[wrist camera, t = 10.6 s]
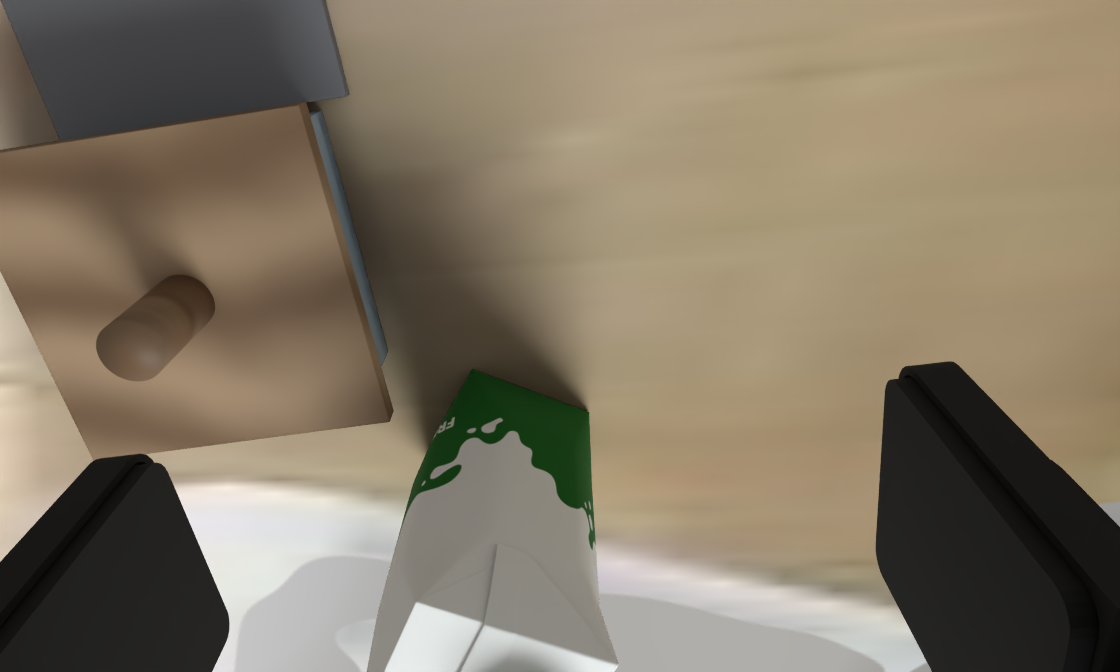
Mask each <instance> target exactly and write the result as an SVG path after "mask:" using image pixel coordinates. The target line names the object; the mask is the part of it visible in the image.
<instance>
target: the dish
mask: <svg viewBox="0 0 1120 672" xmlns="http://www.w3.org/2000/svg"><path fill="white" fill-rule="evenodd" d="M309 114H310V117H311V121H312V124H313V128H314V131H315V135H316V138H317V142H318V146H319V149H320V153H321V156H322V160H323V163H324V167H325V170H326V174H327V177H328V181H329V184H330V188H331V192H332V195H333V199H334V202H335V206H336V209H337V213H338V216H339V220H340V223H341V227H342V230H343V234H344V238H345V241H346V245H347V248H348V252H349V255H350V259H351V262H352V266H353V269H354V273H355V276H356V280H357V283H358V287H359V291H360V294H361V298H362V301H363V305H364V308H365V312H366V315H367V319H368V322H369V326H370V329H371V333H372V337H373V340H374V344H375V347H376V351H377V354H378V358H379V361H380V365H381V366H382V364H383V362H384V359H385V357H386V355H387V352H388V349H387V346H386V342H385V339H384V335H383V331H382V328H381V324H380V320H379V317H378V313H377V309H376V306H375V302H374V299H373V295H372V291H371V288H370V284H369V280H368V277H367V273H366V269H365V266H364V262H363V259H362V255H361V251H360V248H359V244H358V240H357V237H356V233H355V229H354V226H353V222H352V219H351V215H350V211H349V208H348V204H347V200H346V197H345V193H344V189H343V186H342V182H341V179H340V175H339V171H338V168H337V164H336V160H335V157H334V153H333V149H332V146H331V142H330V139H329V135H328V131H327V128H326V124H325V120H324V117H323V113H322V110H318V111H312V112H309Z"/></svg>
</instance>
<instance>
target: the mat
mask: <svg viewBox="0 0 1120 672" xmlns="http://www.w3.org/2000/svg"><path fill="white" fill-rule="evenodd" d="M1 2H2V4H3V7H4V9H5V11H6V14H7V16H8V18H9V21H10V23H11V25H12V28H13V30H14V33H15V35H16V37H17V40H18V42H19V44H20V47H21V49H22V51H23V54H24V56H25V59H26V61H27V63H28V66H29V68H30V70H31V73H32V75H33V77H34V80H35V82H36V85H37V87H38V89H39V92H40V94H41V96H42V99H43V101H44V103H45V106H46V108H47V111H48V113H49V115H50V118H51V120H52V122H53V125H54V127H55V129H56V132H57V134H58V137H59V139H60V140H66V139H72V138H79V137H85V136H91V135H98V134H104V133H110V132H116V131H123V130H129V129H135V128H142V127H148V126H154V125H160V124H167V123H173V122H179V121H186V120H192V119H198V118H204V117H211V116H217V115H223V114H230V113H236V112H242V111H248V110H255V109H261V108H267V107H273V106H280V105H286V104H292V103H299V102H305V101H306V103H308V102H314V101H320V100H327V99H333V98H339V97H346V96H348V95H349V90H348V86H347V83H346V79H345V75H344V71H343V67H342V63H341V59H340V55H339V52H338V48H337V44H336V40H335V36H334V32H333V28H332V24H331V21H330V17H329V13H328V9H327V5H326V1H325V0H1Z"/></svg>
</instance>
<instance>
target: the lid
mask: <svg viewBox="0 0 1120 672" xmlns="http://www.w3.org/2000/svg"><path fill="white" fill-rule="evenodd" d="M0 271H1V273H2V275H3V277H4V279H5V281H6V283H7V285H8V287H9V290H10V292H11V294H12V296H13V298H14V300H15V302H16V304H17V306H18V308H19V310H20V312H21V314H22V316H23V318H24V320H25V322H26V324H27V326H28V328H29V330H30V332H31V334H32V336H33V338H34V340H35V342H36V344H37V346H38V349H39V351H40V353H41V355H42V357H43V359H44V361H45V363H46V365H47V367H48V369H49V371H50V373H51V375H52V377H53V379H54V381H55V383H56V385H57V387H58V389H59V391H60V393H61V395H62V397H63V399H64V401H65V403H66V405H67V407H68V410H69V412H70V414H71V416H72V418H73V420H74V422H75V424H76V426H77V428H78V430H79V432H80V434H81V436H82V438H83V440H84V442H85V444H86V446H87V448H88V450H89V452H90V454H91V456H92V458H93V460H96V459H100V458H106V457H115V456H124V455H133V454H149V453H157V452H164V451H172V450H179V449H187V448H195V447H202V446H210V445H217V444H225V443H232V442H240V441H248V440H255V439H263V438H270V437H278V436H286V435H293V434H301V433H308V432H316V431H323V430H331V429H339V428H346V427H354V426H361V425H369V424H377V423H384V422H390V419H391V417H392V414H393V407H392V404H391V400H390V397H389V393H388V390H387V386H386V383H385V379H384V375H383V372H382V368H381V365H380V361H379V358H378V354H377V351H376V347H375V344H374V340H373V337H372V333H371V329H370V326H369V322H368V319H367V315H366V312H365V308H364V305H363V301H362V298H361V294H360V291H359V287H358V283H357V280H356V276H355V273H354V269H353V266H352V262H351V259H350V255H349V252H348V248H347V245H346V241H345V238H344V234H343V230H342V227H341V223H340V220H339V216H338V213H337V209H336V206H335V202H334V199H333V195H332V192H331V188H330V184H329V181H328V177H327V174H326V170H325V167H324V163H323V160H322V156H321V153H320V149H319V146H318V142H317V138H316V135H315V131H314V128H313V124H312V121H311V117H310V114H309V110H308V107H307V103H306V101H305V102H299V103H292V104H286V105H280V106H273V107H267V108H261V109H255V110H248V111H242V112H236V113H230V114H223V115H217V116H211V117H204V118H198V119H192V120H186V121H179V122H173V123H167V124H160V125H154V126H148V127H142V128H135V129H129V130H123V131H116V132H110V133H104V134H98V135H91V136H85V137H79V138H72V139H66V140H60V141H54V142H47V143H41V144H35V145H29V146H22V147H16V148H10V149H3V150H0Z"/></svg>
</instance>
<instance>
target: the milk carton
mask: <svg viewBox="0 0 1120 672" xmlns="http://www.w3.org/2000/svg"><path fill="white" fill-rule="evenodd" d="M617 666H618V661H617V658H616V655H615V652H614V649H613V646H612V643H611V640H610V637H609V634H608V631H607V628H606V625H605V622H604V619H603V616H602V613H601V610H600V602H599V588H598V573H597V558H596V543H595V527H594V512H593V497H592V477H591V451H590V426H589V412H587V411H585V410H582V409H579V408H576V407H574V406H571V405H568V404H566V403H563V402H560V401H557V400H555V399H552V398H549V397H547V396H544V395H541V394H538V393H536V392H533V391H530V390H527V389H525V388H522V387H519V386H517V385H514V384H511V383H508V382H506V381H503V380H500V379H497V378H495V377H492V376H489V375H487V374H484V373H481V372H478V371H476V370H473V369H472V371H471V373H470V374H469V376H468V378H467V380H466V381H465V383H464V385H463V387H462V388H461V390H460V392H459V394H458V395H457V397H456V399H455V400H454V402H453V404H452V406H451V407H450V409H449V411H448V413H447V414H446V416H445V418H444V420H443V421H442V423H441V425H440V427H439V428H438V430H437V432H436V434H435V435H434V437H433V439H432V441H431V444H430V446H429V448H428V451H427V453H426V455H425V457H424V460H423V462H422V464H421V467H420V469H419V471H418V473H417V476H416V478H415V481H414V483H413V487H412V490H411V494H410V497H409V501H408V504H407V508H406V511H405V515H404V519H403V522H402V526H401V529H400V533H399V537H398V540H397V544H396V547H395V551H394V555H393V558H392V562H391V566H390V570H389V573H388V577H387V580H386V584H385V588H384V592H383V595H382V599H381V603H380V607H379V611H378V615H377V620H376V625H375V630H374V636H373V641H372V646H371V652H370V657H369V663H368V668H367V672H614V671H615V669H616V668H617Z"/></svg>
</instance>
